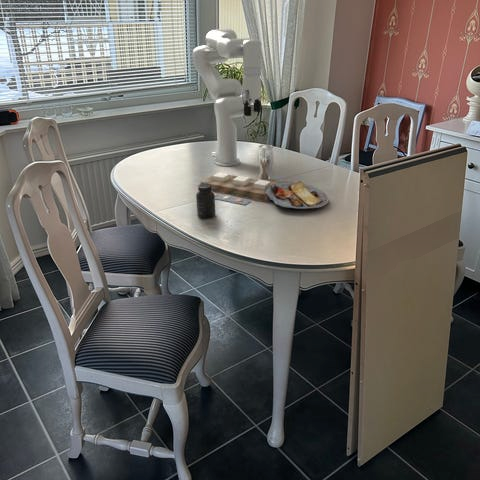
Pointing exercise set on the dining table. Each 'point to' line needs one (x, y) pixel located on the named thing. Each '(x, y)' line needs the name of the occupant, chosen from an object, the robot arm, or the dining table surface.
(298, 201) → the food plate
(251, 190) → the button board
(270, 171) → the beer glass
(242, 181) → the middle button
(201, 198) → the supplement bottle
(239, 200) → the pattern card
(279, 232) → the dining table surface
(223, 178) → the left button
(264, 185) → the right button
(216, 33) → the robot arm
